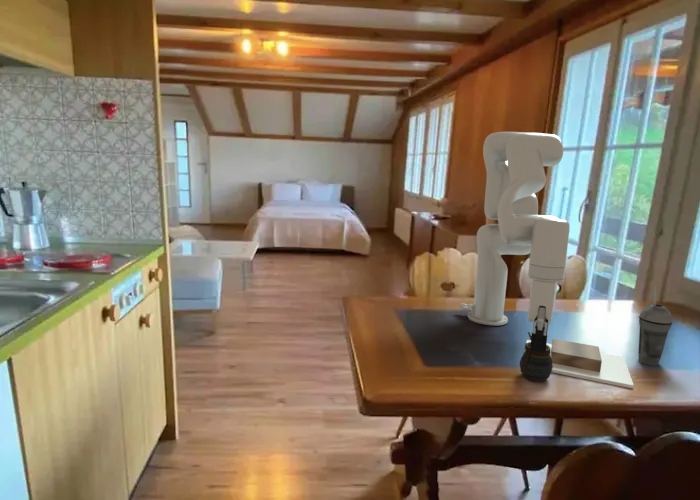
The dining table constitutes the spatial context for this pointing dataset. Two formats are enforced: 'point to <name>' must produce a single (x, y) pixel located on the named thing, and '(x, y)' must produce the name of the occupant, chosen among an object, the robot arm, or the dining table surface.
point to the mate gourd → (536, 363)
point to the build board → (610, 371)
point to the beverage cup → (653, 332)
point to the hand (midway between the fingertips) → (538, 344)
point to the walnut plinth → (576, 355)
